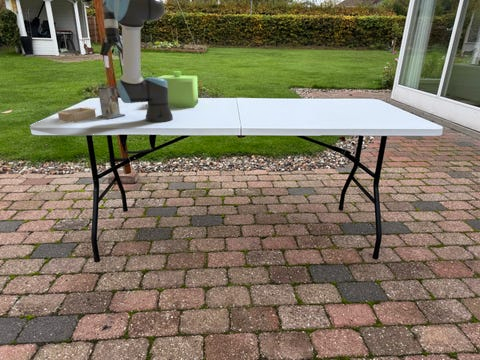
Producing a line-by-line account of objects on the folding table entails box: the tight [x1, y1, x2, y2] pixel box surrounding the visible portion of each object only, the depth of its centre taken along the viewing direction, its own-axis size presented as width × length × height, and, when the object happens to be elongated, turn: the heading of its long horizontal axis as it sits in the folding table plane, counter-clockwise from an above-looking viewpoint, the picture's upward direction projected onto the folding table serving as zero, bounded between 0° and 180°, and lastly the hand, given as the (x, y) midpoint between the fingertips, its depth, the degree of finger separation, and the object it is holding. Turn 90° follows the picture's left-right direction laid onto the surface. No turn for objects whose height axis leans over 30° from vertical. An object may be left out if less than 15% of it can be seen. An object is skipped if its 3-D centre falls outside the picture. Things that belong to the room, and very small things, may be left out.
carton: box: [55, 106, 97, 123], centre depth 199 cm, size 13×20×4 cm, turn 152°
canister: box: [157, 70, 199, 109], centre depth 243 cm, size 25×21×23 cm
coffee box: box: [97, 86, 121, 117], centre depth 201 cm, size 9×6×16 cm
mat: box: [96, 113, 126, 120], centre depth 204 cm, size 10×12×1 cm
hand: (115, 66), depth 206 cm, fingers open, 13 cm apart
